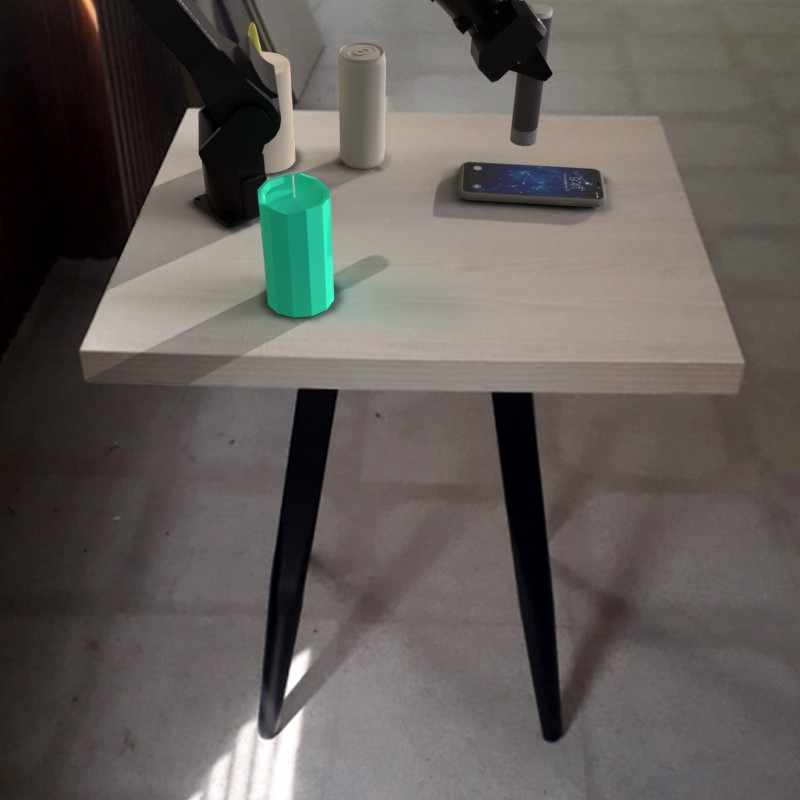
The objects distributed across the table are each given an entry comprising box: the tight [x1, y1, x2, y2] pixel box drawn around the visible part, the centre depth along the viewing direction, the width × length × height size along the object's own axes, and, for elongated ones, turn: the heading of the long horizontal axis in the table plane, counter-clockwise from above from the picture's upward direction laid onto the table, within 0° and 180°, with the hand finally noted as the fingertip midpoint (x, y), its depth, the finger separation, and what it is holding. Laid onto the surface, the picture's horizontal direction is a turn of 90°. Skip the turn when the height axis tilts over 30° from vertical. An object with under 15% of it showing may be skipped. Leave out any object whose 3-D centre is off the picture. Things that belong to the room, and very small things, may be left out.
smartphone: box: [458, 161, 608, 208], centre depth 99 cm, size 7×1×15 cm
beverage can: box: [337, 41, 387, 170], centre depth 99 cm, size 5×5×12 cm
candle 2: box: [258, 172, 335, 318], centre depth 80 cm, size 6×6×12 cm
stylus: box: [509, 3, 554, 147], centre depth 91 cm, size 3×3×13 cm
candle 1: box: [247, 22, 296, 175], centre depth 98 cm, size 6×6×15 cm
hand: (544, 71), depth 91 cm, fingers closed on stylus, 2 cm apart
